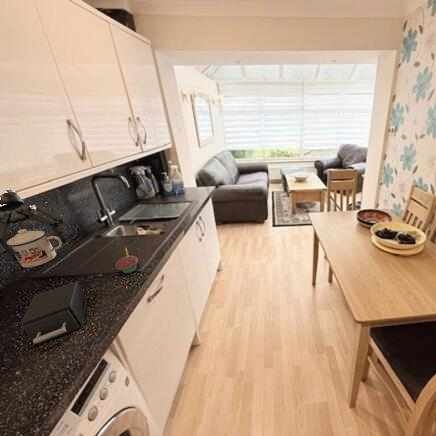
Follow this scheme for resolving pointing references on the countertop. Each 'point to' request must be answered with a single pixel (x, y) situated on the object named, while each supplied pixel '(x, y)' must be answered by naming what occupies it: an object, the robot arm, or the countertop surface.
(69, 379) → the countertop surface
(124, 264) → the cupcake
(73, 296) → the cabinet
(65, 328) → the drawer
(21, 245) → the teacup with lid
